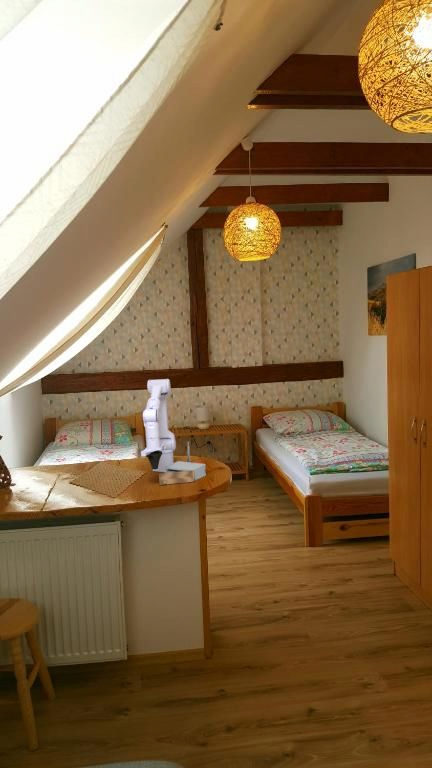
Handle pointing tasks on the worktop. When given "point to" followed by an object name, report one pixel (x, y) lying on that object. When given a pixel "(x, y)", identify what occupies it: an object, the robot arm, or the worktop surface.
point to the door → (176, 477)
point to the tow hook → (189, 453)
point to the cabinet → (187, 468)
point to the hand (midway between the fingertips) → (155, 468)
